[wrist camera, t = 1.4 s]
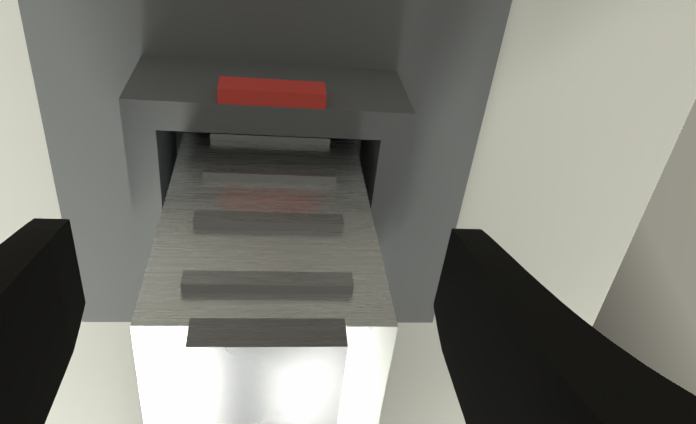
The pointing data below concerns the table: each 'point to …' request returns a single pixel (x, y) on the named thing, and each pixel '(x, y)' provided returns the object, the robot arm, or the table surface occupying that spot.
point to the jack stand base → (345, 123)
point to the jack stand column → (264, 288)
